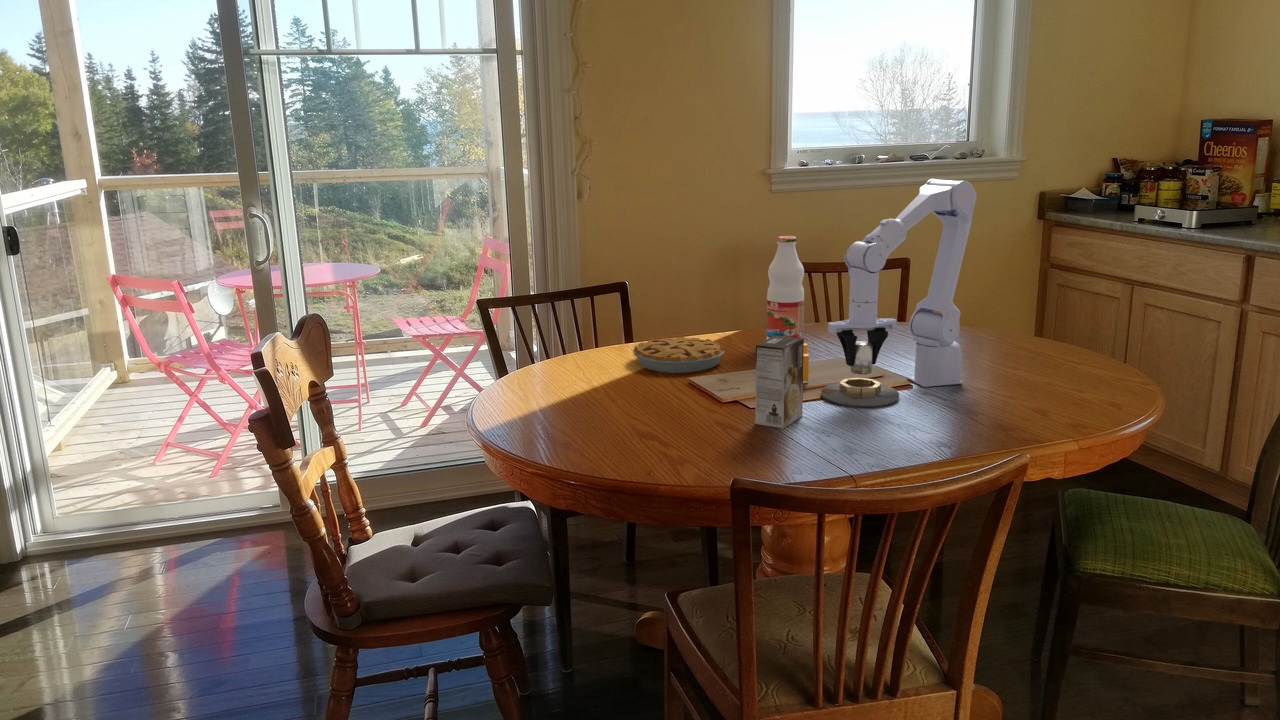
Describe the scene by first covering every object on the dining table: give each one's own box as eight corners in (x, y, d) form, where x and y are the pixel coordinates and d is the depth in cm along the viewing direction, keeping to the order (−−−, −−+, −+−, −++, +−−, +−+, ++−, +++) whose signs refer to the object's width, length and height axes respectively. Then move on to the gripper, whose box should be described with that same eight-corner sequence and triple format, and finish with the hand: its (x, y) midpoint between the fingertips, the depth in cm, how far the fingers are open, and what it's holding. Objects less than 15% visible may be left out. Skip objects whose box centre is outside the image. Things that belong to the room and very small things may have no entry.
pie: (742, 365, 230) (742, 344, 229) (669, 380, 218) (668, 359, 217) (687, 348, 248) (686, 329, 247) (616, 361, 236) (615, 341, 235)
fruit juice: (810, 345, 247) (813, 236, 240) (784, 351, 242) (787, 240, 235) (784, 338, 255) (786, 233, 248) (758, 344, 249) (760, 237, 242)
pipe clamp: (787, 369, 225) (788, 343, 224) (806, 370, 225) (806, 343, 223) (788, 383, 214) (788, 355, 212) (808, 384, 213) (808, 356, 212)
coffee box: (773, 411, 194) (774, 334, 190) (803, 416, 191) (805, 337, 186) (754, 424, 186) (754, 344, 182) (784, 429, 183) (786, 347, 179)
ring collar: (877, 383, 212) (877, 370, 211) (912, 404, 197) (913, 390, 196) (809, 389, 208) (809, 376, 208) (840, 410, 193) (841, 396, 193)
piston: (870, 368, 203) (871, 341, 201) (873, 374, 199) (874, 346, 197) (849, 368, 203) (850, 341, 202) (851, 374, 199) (853, 346, 197)
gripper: (886, 294, 203) (883, 357, 206) (822, 299, 200) (820, 362, 203) (902, 301, 196) (899, 365, 199) (837, 305, 193) (834, 370, 196)
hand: (860, 364), depth 201 cm, fingers closed on piston, 4 cm apart
